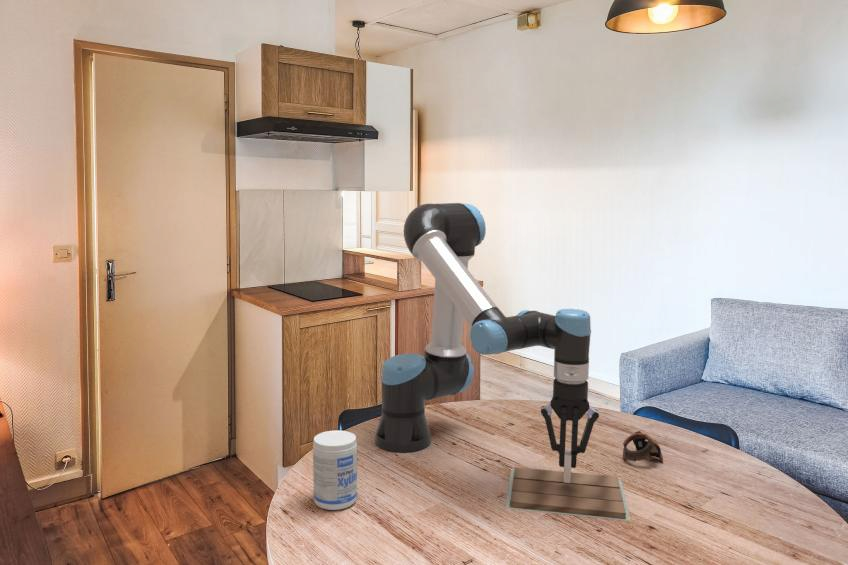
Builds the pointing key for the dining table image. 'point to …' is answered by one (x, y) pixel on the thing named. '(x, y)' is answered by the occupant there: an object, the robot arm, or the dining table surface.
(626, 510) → the underlay mat
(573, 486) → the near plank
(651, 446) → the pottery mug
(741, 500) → the dining table surface
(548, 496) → the laid strip
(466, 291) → the robot arm
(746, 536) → the dining table surface
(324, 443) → the supplement tub
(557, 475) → the far plank
